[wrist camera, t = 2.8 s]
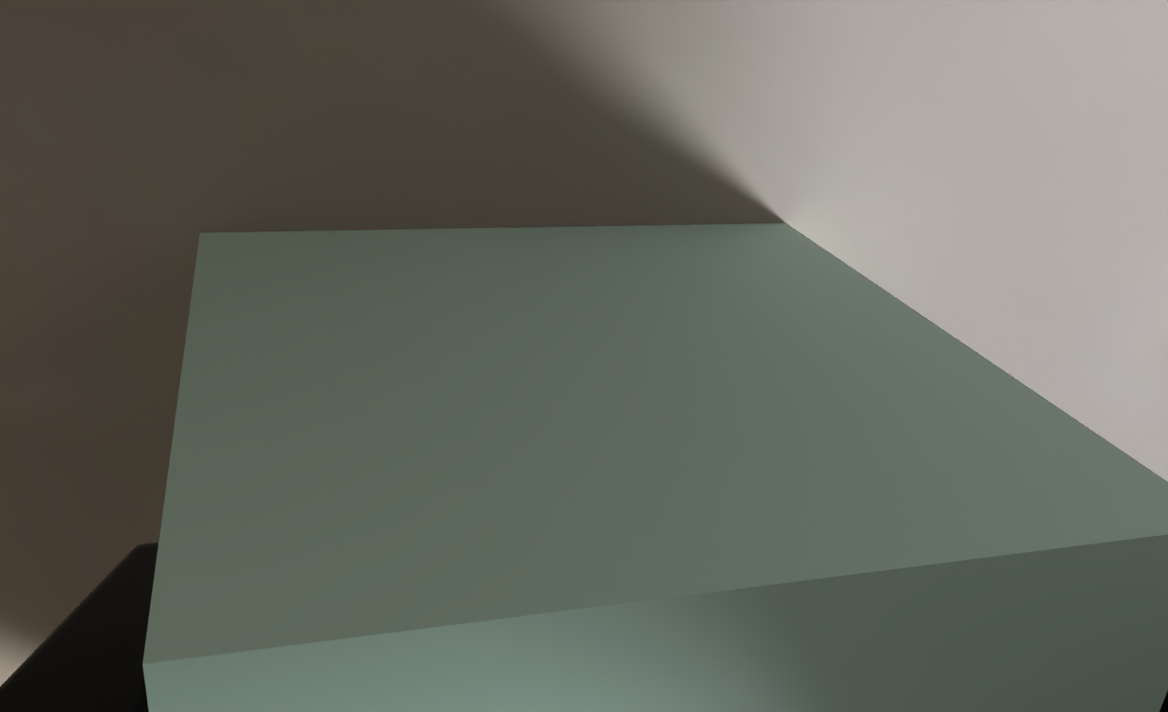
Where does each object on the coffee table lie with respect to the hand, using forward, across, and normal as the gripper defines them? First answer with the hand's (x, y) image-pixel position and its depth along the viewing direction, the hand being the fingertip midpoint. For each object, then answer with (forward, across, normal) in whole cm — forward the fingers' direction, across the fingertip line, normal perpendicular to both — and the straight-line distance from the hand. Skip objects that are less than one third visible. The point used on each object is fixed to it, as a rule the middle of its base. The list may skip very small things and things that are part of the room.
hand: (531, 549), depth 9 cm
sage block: (+1, 0, 0) cm, 1 cm away
